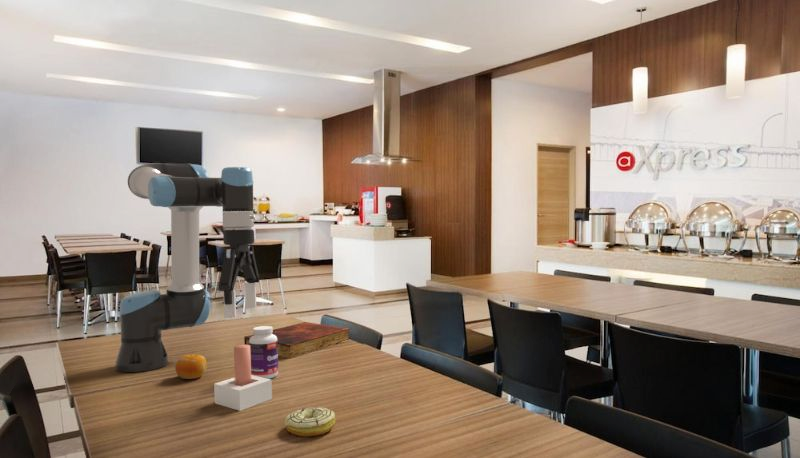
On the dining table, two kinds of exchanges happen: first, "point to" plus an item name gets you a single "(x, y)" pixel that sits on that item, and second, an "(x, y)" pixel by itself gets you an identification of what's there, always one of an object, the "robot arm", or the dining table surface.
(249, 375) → the peg
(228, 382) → the socket block
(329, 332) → the book
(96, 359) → the dining table surface
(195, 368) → the fruit
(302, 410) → the decorated donut
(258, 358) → the pill bottle
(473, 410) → the dining table surface
